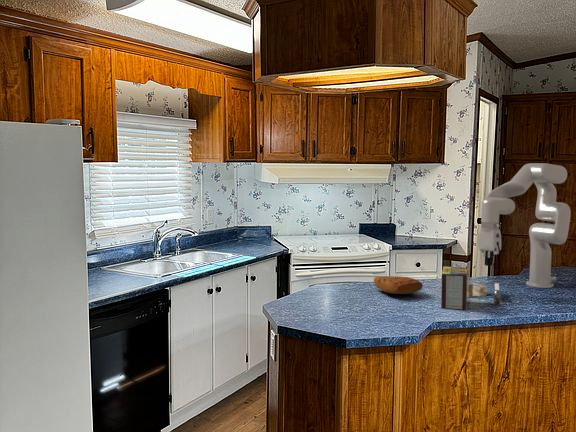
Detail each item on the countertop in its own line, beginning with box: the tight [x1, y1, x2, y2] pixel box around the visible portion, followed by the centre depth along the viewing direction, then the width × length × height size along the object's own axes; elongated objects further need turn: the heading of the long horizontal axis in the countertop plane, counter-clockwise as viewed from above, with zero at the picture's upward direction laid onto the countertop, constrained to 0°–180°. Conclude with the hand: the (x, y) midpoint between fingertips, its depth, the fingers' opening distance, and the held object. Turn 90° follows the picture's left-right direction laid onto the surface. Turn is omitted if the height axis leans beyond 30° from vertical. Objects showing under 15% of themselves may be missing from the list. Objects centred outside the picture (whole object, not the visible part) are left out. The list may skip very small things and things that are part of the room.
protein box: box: [440, 266, 468, 311], centre depth 227 cm, size 10×15×16 cm
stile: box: [467, 282, 474, 298], centre depth 241 cm, size 3×3×6 cm
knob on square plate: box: [488, 289, 506, 307], centre depth 228 cm, size 5×5×6 cm
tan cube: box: [473, 284, 488, 297], centre depth 244 cm, size 4×4×4 cm
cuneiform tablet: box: [373, 275, 424, 295], centre depth 247 cm, size 22×17×8 cm
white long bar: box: [494, 282, 500, 290], centre depth 237 cm, size 14×2×5 cm, turn 159°
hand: (488, 265), depth 238 cm, fingers closed
